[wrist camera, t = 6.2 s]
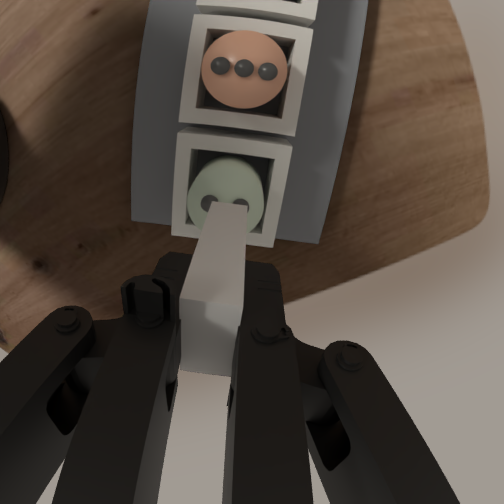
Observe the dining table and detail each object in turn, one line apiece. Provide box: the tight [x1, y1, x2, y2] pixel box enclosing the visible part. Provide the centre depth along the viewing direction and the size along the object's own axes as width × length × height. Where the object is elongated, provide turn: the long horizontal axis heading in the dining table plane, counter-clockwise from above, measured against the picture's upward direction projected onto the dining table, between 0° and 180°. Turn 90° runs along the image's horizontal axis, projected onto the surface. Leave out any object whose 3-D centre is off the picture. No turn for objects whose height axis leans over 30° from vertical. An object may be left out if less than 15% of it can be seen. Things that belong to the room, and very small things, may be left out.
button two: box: [187, 155, 264, 234], centre depth 17 cm, size 4×4×3 cm
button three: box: [201, 30, 287, 109], centre depth 13 cm, size 4×4×3 cm
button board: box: [131, 0, 368, 248], centre depth 16 cm, size 14×22×4 cm, turn 172°
